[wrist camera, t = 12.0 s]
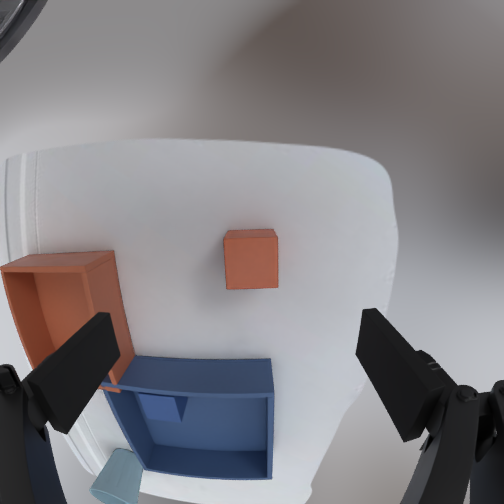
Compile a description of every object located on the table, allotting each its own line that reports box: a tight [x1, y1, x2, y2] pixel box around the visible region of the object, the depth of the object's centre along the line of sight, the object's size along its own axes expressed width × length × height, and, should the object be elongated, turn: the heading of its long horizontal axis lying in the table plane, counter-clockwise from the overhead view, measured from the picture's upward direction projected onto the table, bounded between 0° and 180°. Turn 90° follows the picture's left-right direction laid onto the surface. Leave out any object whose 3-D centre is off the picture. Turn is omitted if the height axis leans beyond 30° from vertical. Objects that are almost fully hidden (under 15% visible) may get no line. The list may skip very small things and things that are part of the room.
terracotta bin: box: [0, 251, 135, 393], centre depth 23 cm, size 13×13×6 cm
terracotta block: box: [223, 229, 278, 289], centre depth 23 cm, size 4×4×4 cm
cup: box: [89, 449, 143, 504], centre depth 28 cm, size 8×8×10 cm
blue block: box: [138, 392, 188, 423], centre depth 26 cm, size 4×4×4 cm
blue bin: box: [101, 355, 274, 480], centre depth 26 cm, size 17×17×6 cm
